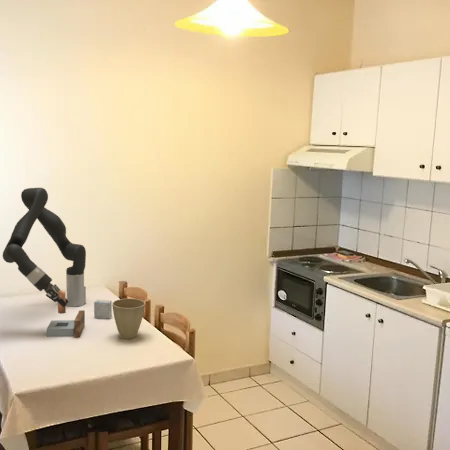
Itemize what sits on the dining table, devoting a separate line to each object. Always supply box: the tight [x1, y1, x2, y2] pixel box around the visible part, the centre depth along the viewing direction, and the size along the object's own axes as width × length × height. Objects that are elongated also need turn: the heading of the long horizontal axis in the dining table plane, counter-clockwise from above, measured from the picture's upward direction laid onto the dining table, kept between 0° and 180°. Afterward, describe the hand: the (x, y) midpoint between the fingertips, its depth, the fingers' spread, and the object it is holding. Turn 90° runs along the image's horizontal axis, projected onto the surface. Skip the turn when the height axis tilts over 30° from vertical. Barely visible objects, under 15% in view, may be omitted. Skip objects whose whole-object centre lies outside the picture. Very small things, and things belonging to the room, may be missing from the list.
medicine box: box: [93, 299, 113, 320], centre depth 286 cm, size 8×4×9 cm, turn 84°
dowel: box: [57, 290, 67, 314], centre depth 262 cm, size 3×3×10 cm
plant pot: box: [112, 297, 146, 340], centre depth 260 cm, size 15×15×16 cm
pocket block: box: [46, 319, 75, 338], centre depth 264 cm, size 12×12×4 cm
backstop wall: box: [73, 310, 86, 339], centre depth 265 cm, size 2×15×8 cm, turn 6°
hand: (66, 304), depth 262 cm, fingers closed on dowel, 3 cm apart
